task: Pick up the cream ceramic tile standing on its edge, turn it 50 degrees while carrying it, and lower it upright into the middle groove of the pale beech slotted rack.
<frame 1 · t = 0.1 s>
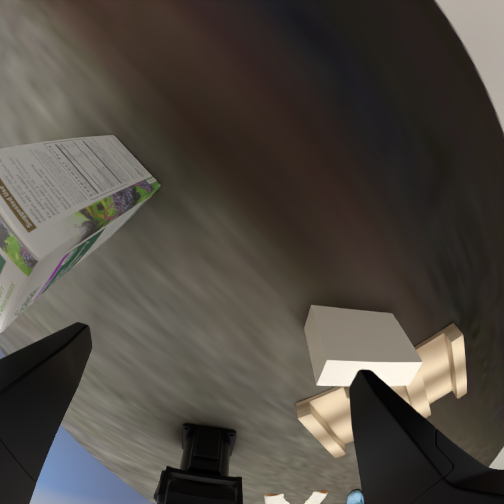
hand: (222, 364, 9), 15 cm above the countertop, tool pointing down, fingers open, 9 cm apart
syrup box: (114, 182, 21), on the countertop
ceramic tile: (349, 320, 26), on the countertop
slotted rack: (389, 395, 30), on the countertop
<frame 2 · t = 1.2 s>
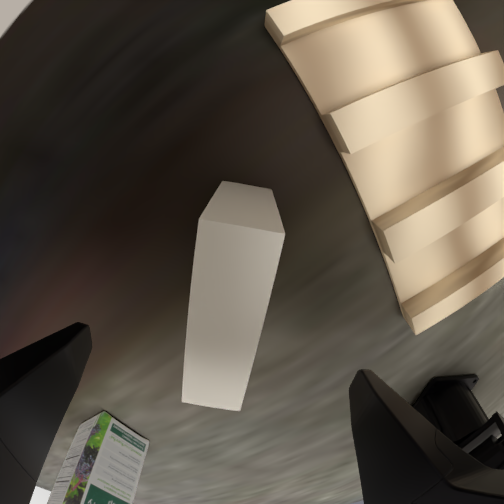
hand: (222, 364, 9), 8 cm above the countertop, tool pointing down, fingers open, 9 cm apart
syrup box: (114, 431, 24), on the countertop
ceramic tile: (233, 256, 17), on the countertop
slotted rack: (439, 141, 14), on the countertop
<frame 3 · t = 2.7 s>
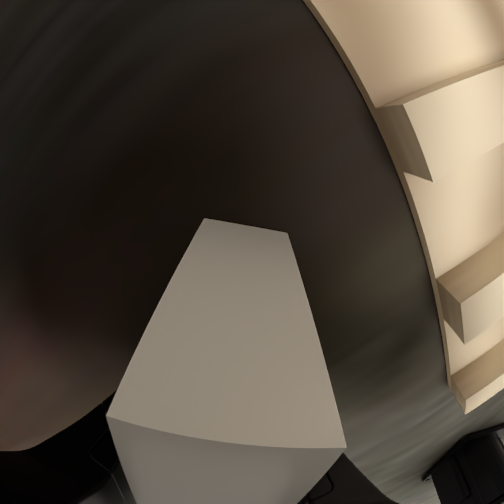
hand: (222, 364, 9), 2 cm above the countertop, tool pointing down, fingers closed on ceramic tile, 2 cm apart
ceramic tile: (226, 333, 11), on the countertop, touching gripper
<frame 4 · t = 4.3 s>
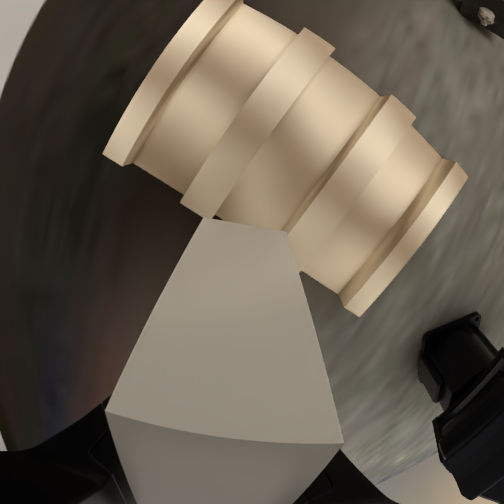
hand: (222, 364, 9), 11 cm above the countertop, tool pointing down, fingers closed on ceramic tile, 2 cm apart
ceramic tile: (225, 332, 11), point 10 cm above the countertop, touching gripper
slotted rack: (297, 150, 17), on the countertop
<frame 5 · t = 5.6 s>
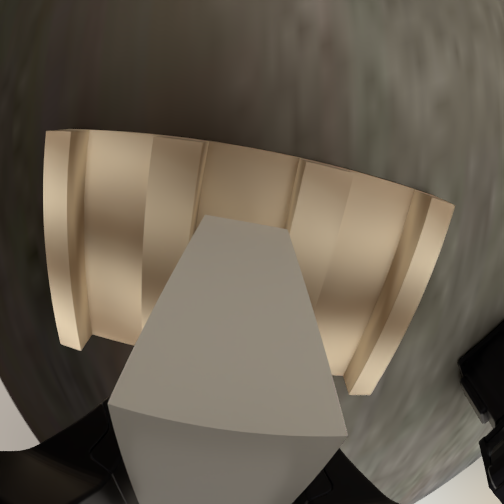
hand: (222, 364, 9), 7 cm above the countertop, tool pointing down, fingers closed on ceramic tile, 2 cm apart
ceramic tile: (226, 330, 11), point 5 cm above the countertop, touching gripper
slotted rack: (232, 268, 15), on the countertop
when the fingers open (3 cm above the countertop, at t = 6.4 s): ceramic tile drops 1 cm, resting on slotted rack.
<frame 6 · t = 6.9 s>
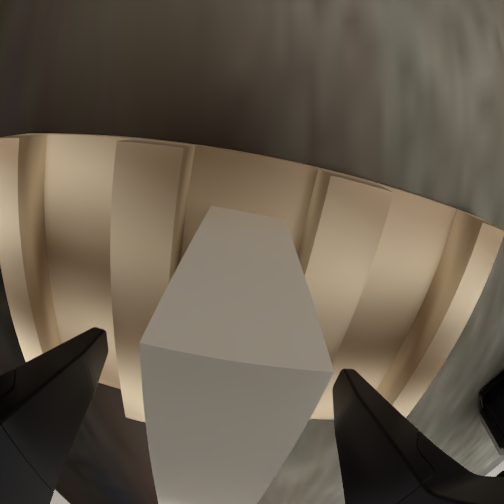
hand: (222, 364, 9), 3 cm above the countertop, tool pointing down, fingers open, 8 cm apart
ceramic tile: (229, 313, 12), resting on slotted rack
slotted rack: (228, 308, 12), on the countertop
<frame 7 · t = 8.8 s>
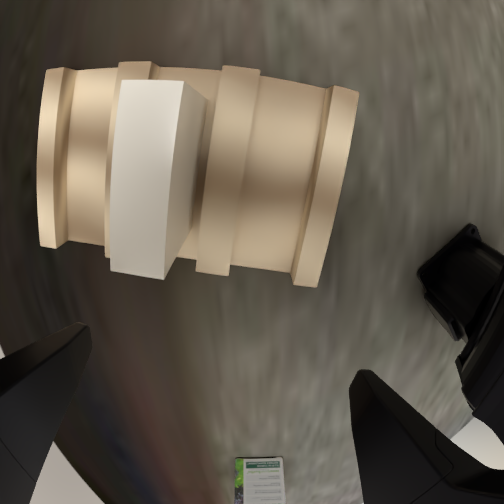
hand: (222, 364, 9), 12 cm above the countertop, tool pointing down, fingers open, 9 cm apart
syrup box: (259, 465, 31), on the countertop
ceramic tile: (178, 163, 17), resting on slotted rack
slotted rack: (179, 163, 18), on the countertop
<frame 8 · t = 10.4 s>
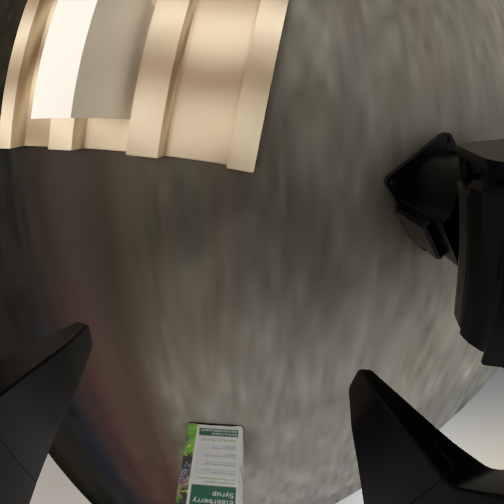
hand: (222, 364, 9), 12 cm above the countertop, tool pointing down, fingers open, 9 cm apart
syrup box: (218, 436, 29), on the countertop
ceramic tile: (124, 60, 15), resting on slotted rack
slotted rack: (126, 62, 16), on the countertop
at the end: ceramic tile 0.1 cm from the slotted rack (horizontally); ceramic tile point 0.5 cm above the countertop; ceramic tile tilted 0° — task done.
